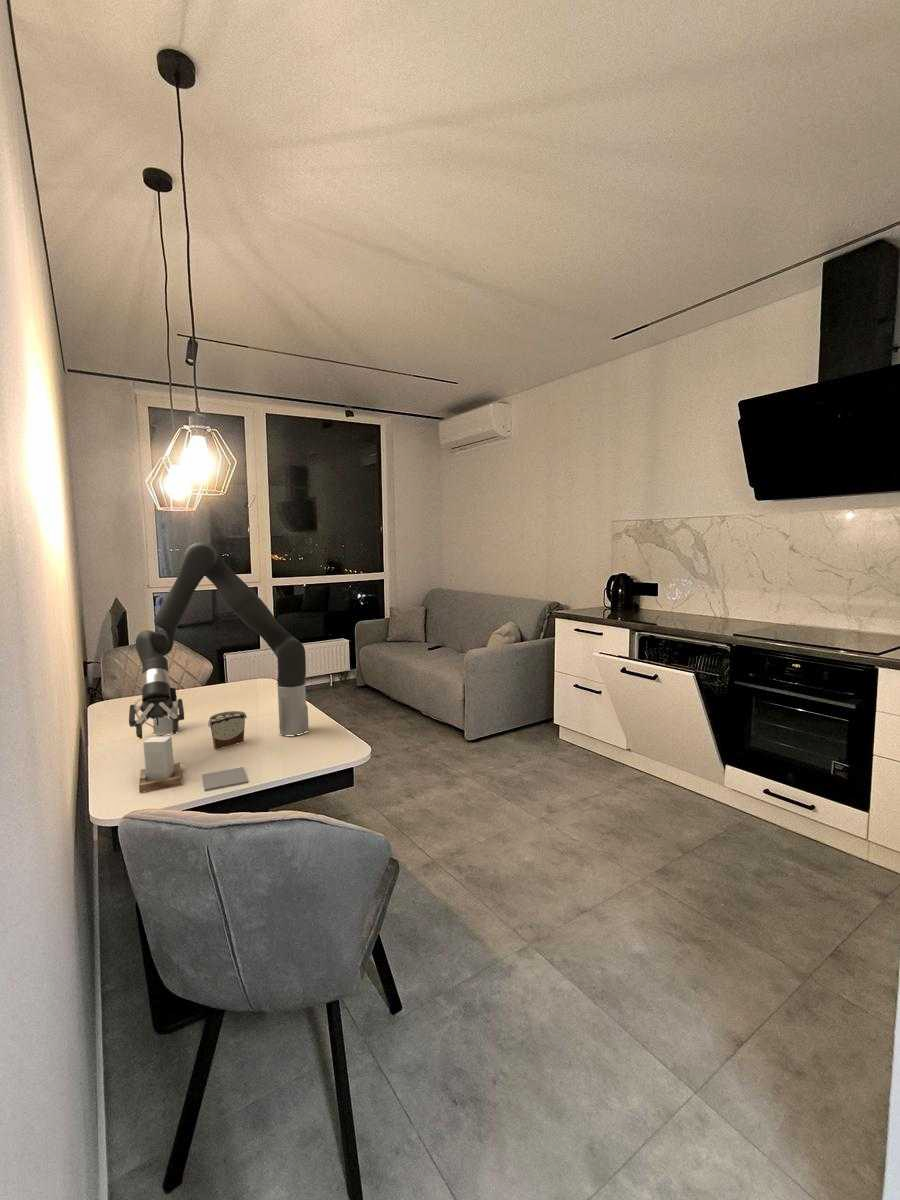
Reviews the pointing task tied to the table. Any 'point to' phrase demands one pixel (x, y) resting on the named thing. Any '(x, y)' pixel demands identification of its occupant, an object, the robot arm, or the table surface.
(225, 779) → the rubber pad
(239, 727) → the food container
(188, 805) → the table surface
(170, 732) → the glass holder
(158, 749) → the skincare box
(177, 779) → the walnut holder
